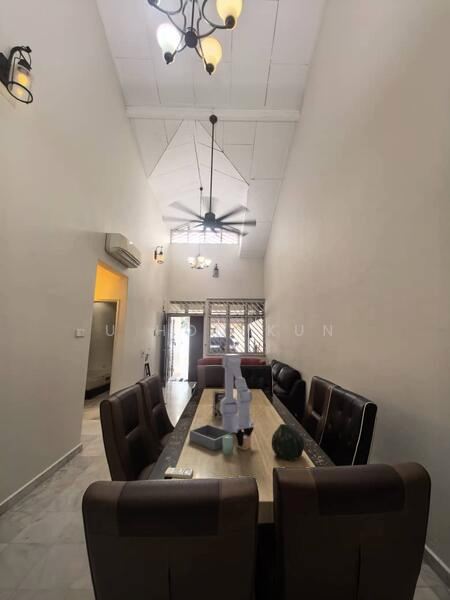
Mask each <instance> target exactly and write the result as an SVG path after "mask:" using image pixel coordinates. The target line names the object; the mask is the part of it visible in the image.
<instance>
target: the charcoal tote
mask: <svg viewBox="0 0 450 600" xmlns="http://www.w3.org/2000/svg"><path fill="white" fill-rule="evenodd" d="M224 435H232V436H233V433H232V432H229V431H226V430H223V429H222V428H221V427H218V426H215V425H212V424H205V425H202V426H199V427H196V428H194V429H191V430H189V442H191V443H193V444H195V445H198V446H200V447H203V448H206V449H207V450H210V451H212V452H217V451H218V450H220V449H222V447H223V436H224Z"/></svg>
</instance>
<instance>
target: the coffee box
mask: <svg viewBox="0 0 450 600" xmlns="http://www.w3.org/2000/svg"><path fill="white" fill-rule="evenodd" d="M212 397H213V398H212V414H211V415H212V417H213V419H216V420H217V419H223V415H222V414H221V413H220V401H221V400H222V399H223V398H224V397H225V390H219V391H217V390H216V391H213V392H212Z"/></svg>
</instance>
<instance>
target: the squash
mask: <svg viewBox="0 0 450 600" xmlns="http://www.w3.org/2000/svg"><path fill="white" fill-rule="evenodd" d="M271 448H272V450H273V452H274V455H276V456H277V457H278V458H280V459H281V458H282V460H284V461H288V460H290V461H295V460H296V459H298V458H300V457H302V455H303V452H304V449H305V441H304V439H303V436H302V435H301V434H300V432H298V430H297V429H296V428H294V427H292V426H290V425H288V424H285V423H281V424H280V425H279V426H278V427H277V428H276V430H275V431H274V433H273V434H272V437H271Z"/></svg>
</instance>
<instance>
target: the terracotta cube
mask: <svg viewBox="0 0 450 600" xmlns="http://www.w3.org/2000/svg"><path fill="white" fill-rule="evenodd" d="M251 442H252V435H251V436H248V435H245V434H244V438H243V445H242V446H239V445H238V441H237V440H236V448H238V449H240V450H244V451H246V450H247V449H249V448H251V446H252V445H251V444H252V443H251Z"/></svg>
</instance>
